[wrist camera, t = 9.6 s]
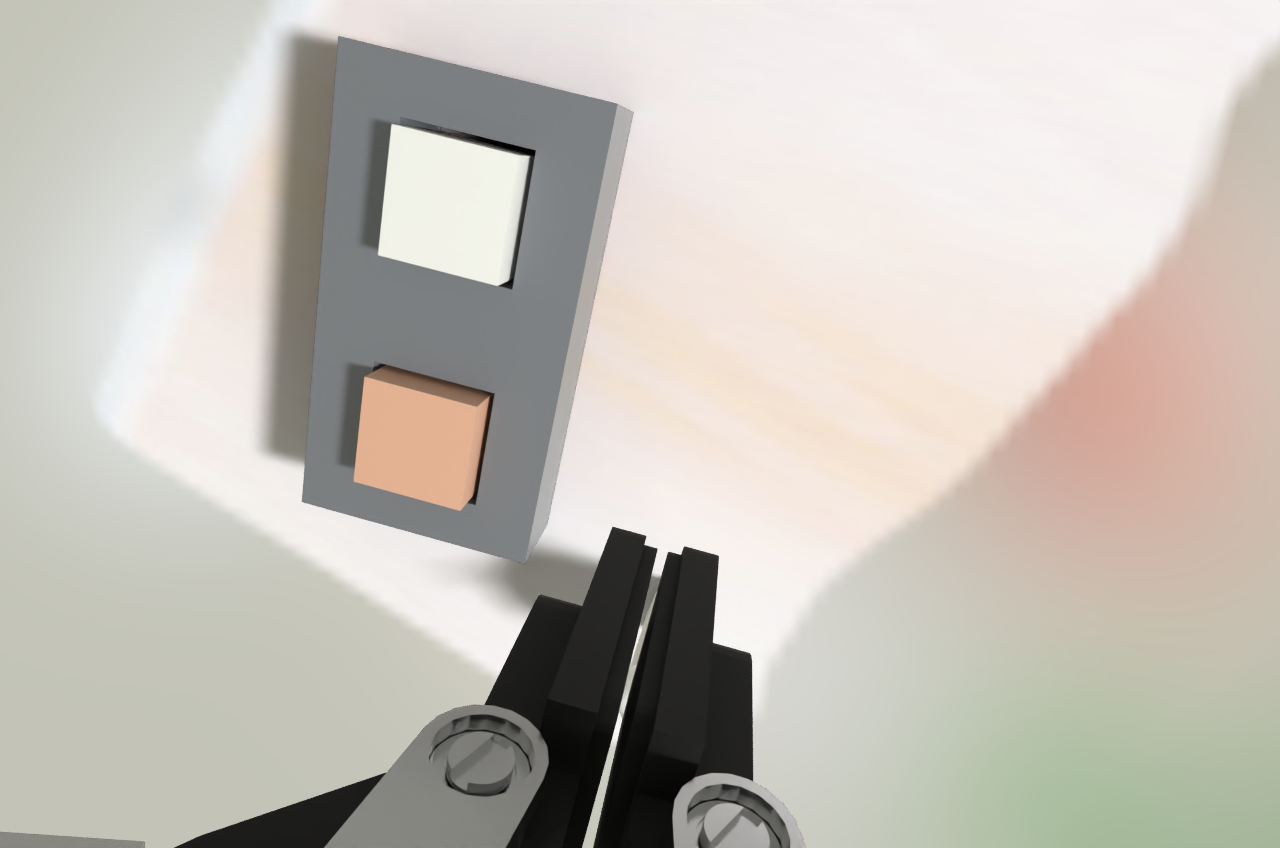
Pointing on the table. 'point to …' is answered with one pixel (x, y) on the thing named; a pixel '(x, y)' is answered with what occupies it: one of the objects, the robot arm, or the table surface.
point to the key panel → (459, 290)
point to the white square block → (454, 204)
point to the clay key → (422, 436)
